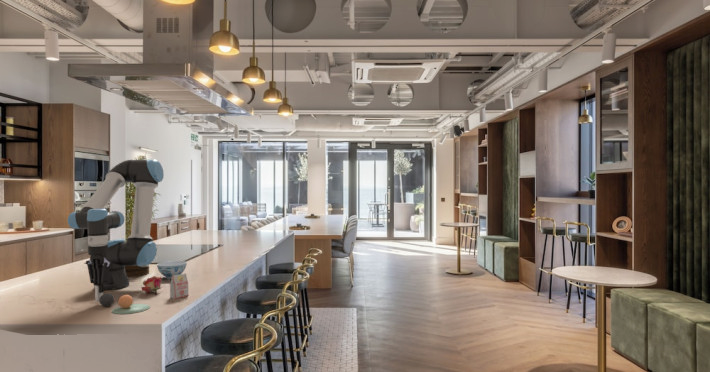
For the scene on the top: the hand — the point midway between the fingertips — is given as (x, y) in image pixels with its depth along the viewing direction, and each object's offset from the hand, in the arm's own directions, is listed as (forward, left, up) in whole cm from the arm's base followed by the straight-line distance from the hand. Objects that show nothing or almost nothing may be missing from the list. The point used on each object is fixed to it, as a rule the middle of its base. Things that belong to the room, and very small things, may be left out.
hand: (99, 300), depth 196 cm
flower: (+5, +23, -2) cm, 24 cm away
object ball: (+16, 0, +1) cm, 16 cm away
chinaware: (-12, +52, -2) cm, 53 cm away
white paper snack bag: (+22, +23, -2) cm, 32 cm away
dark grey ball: (+5, -1, +1) cm, 6 cm away
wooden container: (-39, +51, -2) cm, 64 cm away
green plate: (+19, 0, -2) cm, 19 cm away
